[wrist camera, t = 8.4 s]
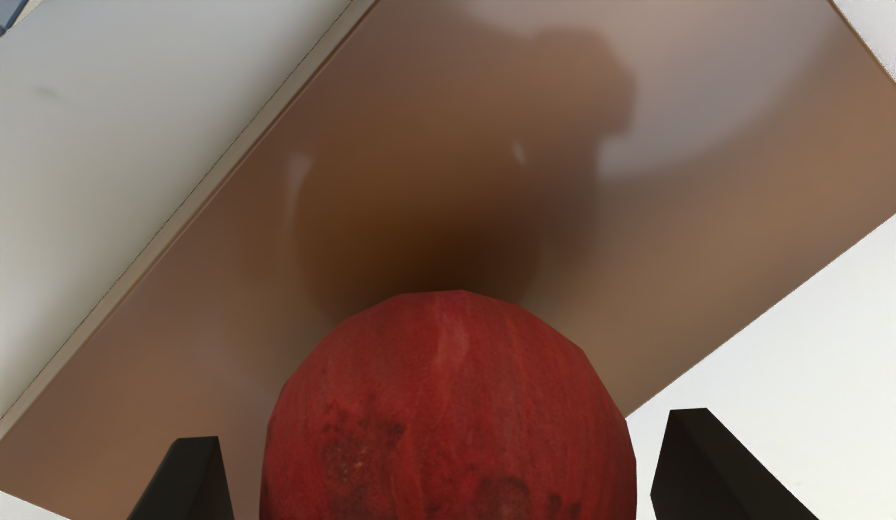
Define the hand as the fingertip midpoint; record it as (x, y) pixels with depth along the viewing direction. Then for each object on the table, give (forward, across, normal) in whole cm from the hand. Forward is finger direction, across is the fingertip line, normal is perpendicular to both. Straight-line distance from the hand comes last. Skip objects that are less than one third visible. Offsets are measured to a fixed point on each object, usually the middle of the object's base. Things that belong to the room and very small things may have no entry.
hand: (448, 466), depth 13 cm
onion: (+4, 0, 0) cm, 4 cm away
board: (+5, 0, 0) cm, 5 cm away
